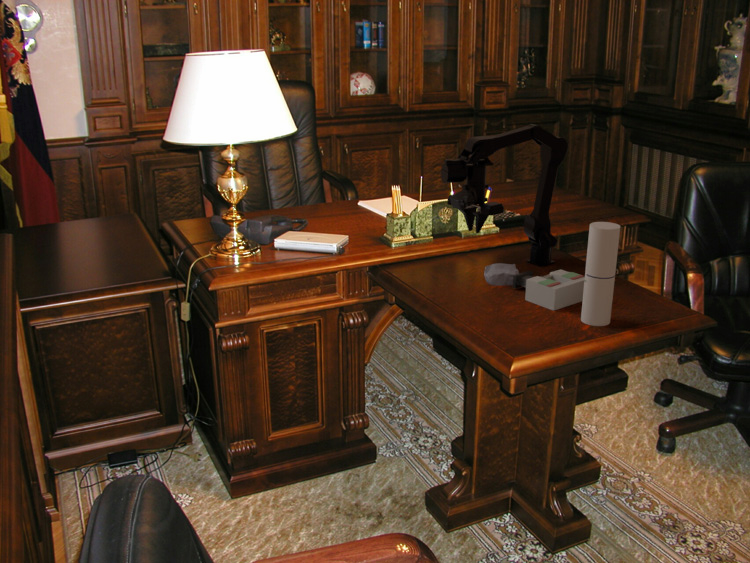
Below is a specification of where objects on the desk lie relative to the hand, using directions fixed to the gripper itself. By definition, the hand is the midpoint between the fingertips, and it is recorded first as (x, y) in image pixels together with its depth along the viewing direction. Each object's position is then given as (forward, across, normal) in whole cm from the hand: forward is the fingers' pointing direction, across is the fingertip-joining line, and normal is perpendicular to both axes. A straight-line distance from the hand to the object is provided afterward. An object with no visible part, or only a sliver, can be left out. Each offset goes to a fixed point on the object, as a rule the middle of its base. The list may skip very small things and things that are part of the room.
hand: (473, 231), depth 222 cm
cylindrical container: (+12, +49, -4) cm, 51 cm away
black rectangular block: (+11, +24, 0) cm, 27 cm away
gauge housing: (+12, +33, 0) cm, 35 cm away
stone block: (+12, +11, 0) cm, 17 cm away
